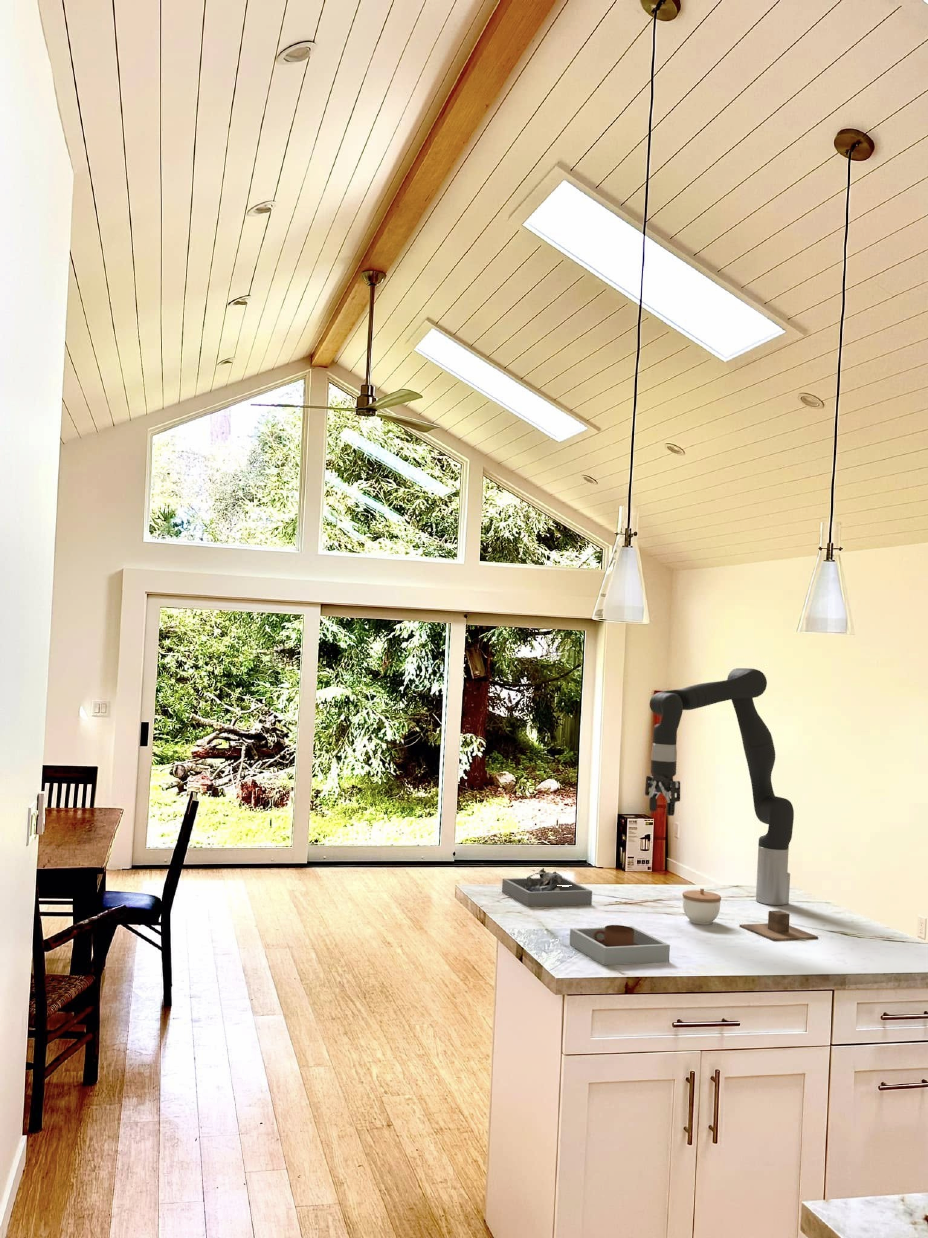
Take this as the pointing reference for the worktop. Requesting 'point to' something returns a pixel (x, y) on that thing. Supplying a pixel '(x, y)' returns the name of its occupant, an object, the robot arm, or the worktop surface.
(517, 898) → the foil frame
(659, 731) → the robot arm
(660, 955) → the grey square tray
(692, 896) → the lidded jar
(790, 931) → the walnut lid
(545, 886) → the foil
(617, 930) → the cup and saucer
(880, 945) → the worktop surface
